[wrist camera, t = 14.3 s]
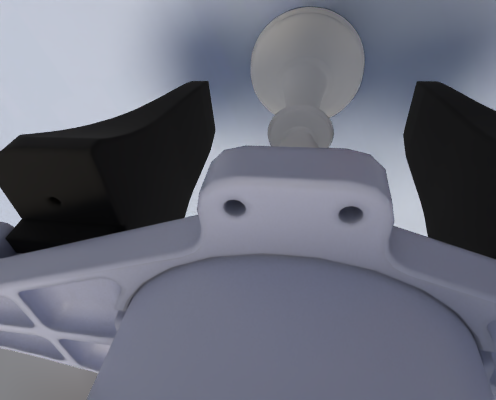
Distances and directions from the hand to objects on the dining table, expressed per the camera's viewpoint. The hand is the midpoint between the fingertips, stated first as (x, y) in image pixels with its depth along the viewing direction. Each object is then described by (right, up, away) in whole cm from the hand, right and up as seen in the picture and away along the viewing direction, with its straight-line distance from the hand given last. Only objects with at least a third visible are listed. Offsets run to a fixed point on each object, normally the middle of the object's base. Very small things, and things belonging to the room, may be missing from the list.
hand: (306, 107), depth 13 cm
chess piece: (0, +3, +3) cm, 4 cm away
